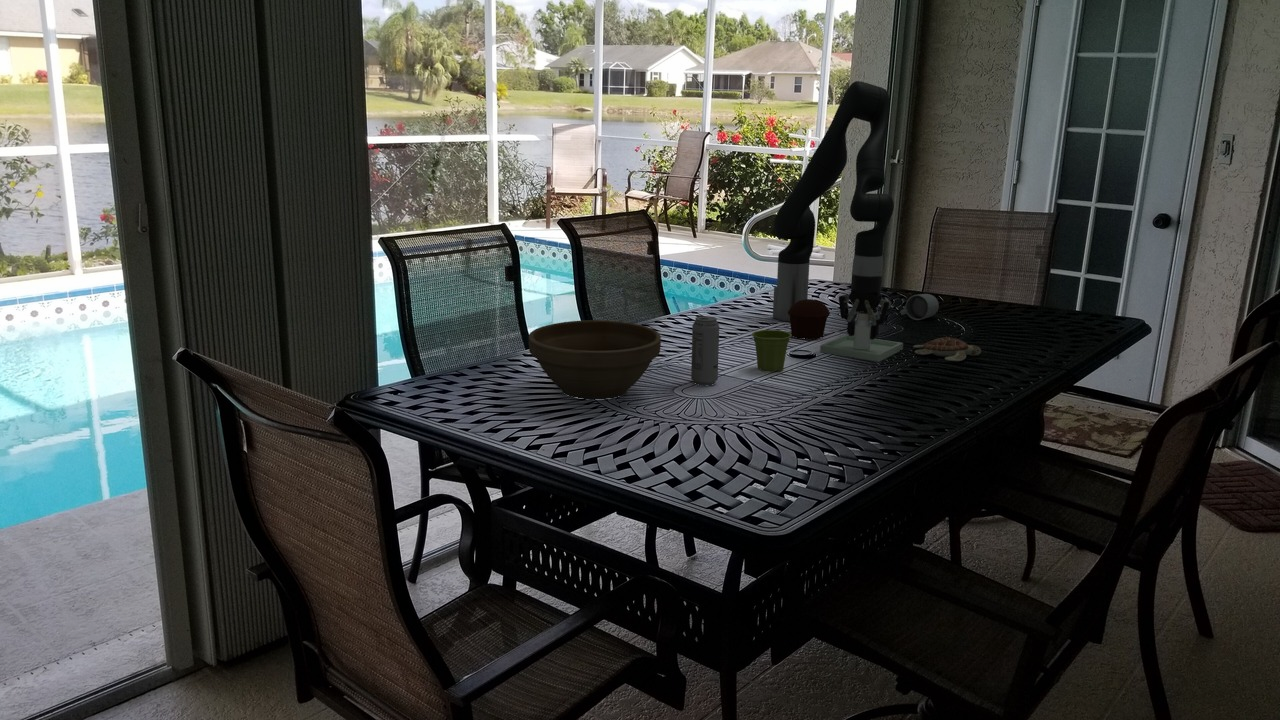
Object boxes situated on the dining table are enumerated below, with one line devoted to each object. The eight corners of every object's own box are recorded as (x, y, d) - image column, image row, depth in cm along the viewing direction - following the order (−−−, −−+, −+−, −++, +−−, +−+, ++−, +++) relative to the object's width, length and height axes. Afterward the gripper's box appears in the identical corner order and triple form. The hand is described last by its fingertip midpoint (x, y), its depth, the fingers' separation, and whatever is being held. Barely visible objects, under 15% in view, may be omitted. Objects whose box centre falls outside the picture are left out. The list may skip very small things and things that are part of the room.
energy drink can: (720, 386, 211) (722, 320, 207) (694, 387, 210) (695, 321, 206) (714, 378, 217) (715, 315, 213) (688, 379, 216) (690, 315, 212)
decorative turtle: (985, 367, 231) (987, 347, 230) (916, 363, 234) (917, 343, 233) (975, 349, 248) (977, 331, 247) (910, 346, 252) (912, 328, 250)
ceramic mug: (939, 317, 286) (941, 293, 284) (927, 322, 280) (929, 296, 278) (907, 313, 293) (909, 289, 291) (894, 317, 287) (896, 292, 285)
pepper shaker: (852, 346, 246) (855, 310, 244) (868, 347, 246) (871, 311, 243) (854, 350, 242) (857, 314, 240) (870, 350, 242) (873, 314, 240)
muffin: (800, 342, 253) (802, 305, 251) (778, 333, 263) (780, 298, 261) (837, 338, 258) (839, 302, 255) (814, 330, 268) (816, 295, 265)
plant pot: (746, 372, 223) (747, 336, 221) (755, 362, 232) (757, 328, 229) (785, 376, 220) (787, 340, 218) (793, 366, 228) (795, 331, 226)
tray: (819, 352, 243) (820, 345, 242) (845, 340, 255) (846, 334, 255) (878, 361, 233) (879, 354, 233) (902, 349, 246) (903, 343, 245)
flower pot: (677, 405, 196) (678, 344, 193) (543, 416, 189) (542, 353, 185) (638, 371, 223) (639, 317, 219) (519, 379, 215) (518, 323, 212)
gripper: (834, 271, 240) (830, 335, 245) (888, 277, 232) (883, 344, 236) (847, 268, 246) (842, 330, 250) (899, 273, 238) (894, 338, 242)
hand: (862, 337), depth 243 cm, fingers open, 5 cm apart
